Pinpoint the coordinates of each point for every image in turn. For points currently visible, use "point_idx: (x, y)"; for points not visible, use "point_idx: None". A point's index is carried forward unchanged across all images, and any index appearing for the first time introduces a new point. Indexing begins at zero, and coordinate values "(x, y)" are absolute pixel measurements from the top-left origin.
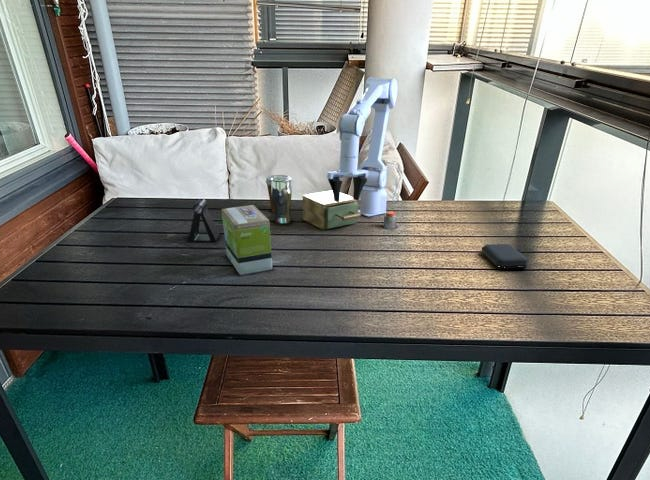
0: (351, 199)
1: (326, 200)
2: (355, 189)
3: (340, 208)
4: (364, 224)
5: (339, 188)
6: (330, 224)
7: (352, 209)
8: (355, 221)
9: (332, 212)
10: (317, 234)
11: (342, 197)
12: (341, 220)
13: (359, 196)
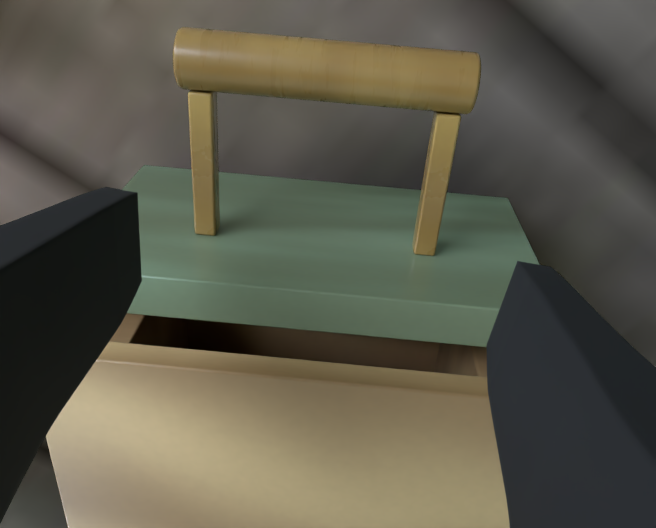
0: (108, 361)
1: (410, 489)
2: (49, 370)
3: (359, 279)
4: (77, 124)
5: (653, 419)
6: (485, 211)
7: (170, 240)
8: (164, 171)
9: (483, 274)
10: (646, 179)
11: (166, 467)
12: (343, 206)
13: (62, 202)
